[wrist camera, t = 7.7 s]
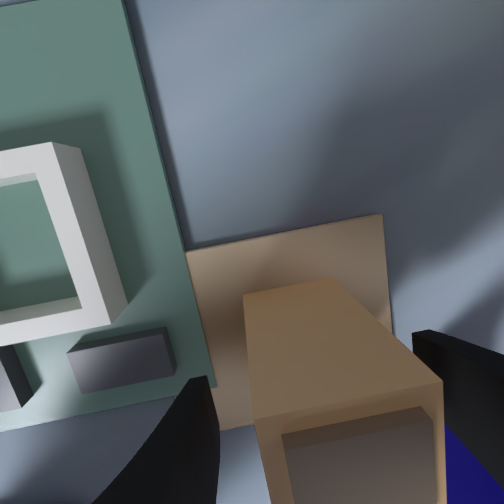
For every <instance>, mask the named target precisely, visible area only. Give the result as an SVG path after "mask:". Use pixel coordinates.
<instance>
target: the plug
mask: <svg viewBox="0 0 504 504" xmlns="http://www.w3.org/2000/svg"><path fill="white" fill-rule="evenodd" d="M243 307H244V318H245V330H246V341H247V353H248V364H249V376H250V387H251V399H252V410H253V420H254V425H255V430H256V434H257V439H258V444H259V448H260V453H261V458H262V462H263V467H264V472H265V477H266V481H267V486H268V491H269V495H270V500H271V504H447V494H446V462H445V431H444V400H443V381H442V380H441V379H440V378H439V377H438V376H437V375H436V374H435V373H434V372H433V371H432V370H431V369H430V368H428V367H427V366H426V365H425V364H424V363H423V362H422V361H421V360H420V359H419V358H418V357H417V356H416V355H415V354H413V353H412V352H411V351H410V350H409V349H408V348H407V347H406V346H405V345H404V344H403V343H402V342H401V341H400V340H398V339H397V338H396V337H395V336H394V335H393V334H392V333H391V332H390V331H389V330H388V329H387V328H386V327H385V326H383V325H382V324H381V323H380V322H379V321H378V320H377V319H376V318H375V317H374V316H373V315H372V314H371V313H370V312H369V311H367V310H366V309H365V308H364V307H363V306H362V305H361V304H360V303H359V302H358V301H357V300H356V299H355V298H354V297H352V296H351V295H350V294H349V293H348V292H347V291H346V290H345V289H344V288H343V287H342V286H341V285H340V284H339V283H337V282H336V281H335V280H334V279H333V278H332V277H331V278H326V279H321V280H316V281H311V282H305V283H300V284H295V285H290V286H285V287H280V288H274V289H269V290H264V291H259V292H254V293H249V294H243Z"/></svg>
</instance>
